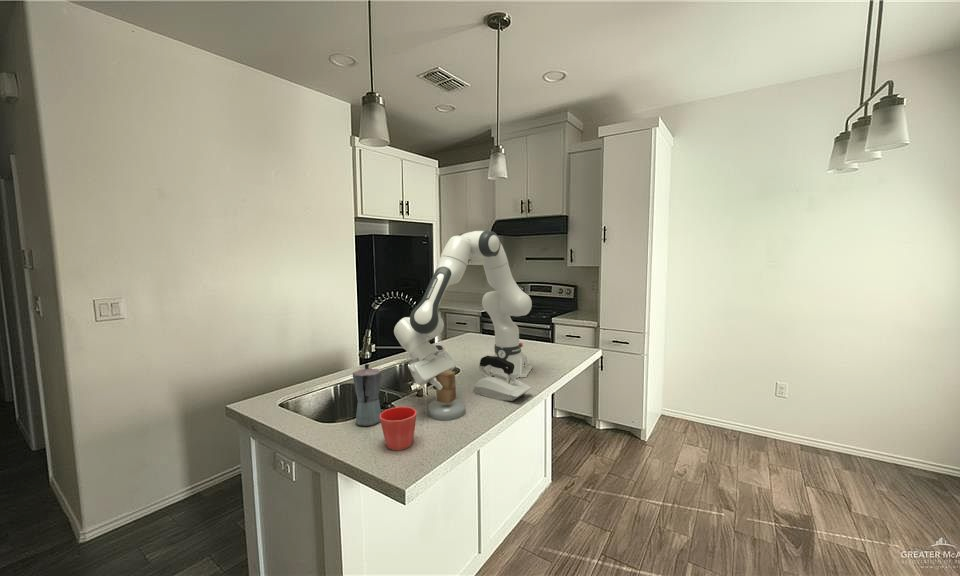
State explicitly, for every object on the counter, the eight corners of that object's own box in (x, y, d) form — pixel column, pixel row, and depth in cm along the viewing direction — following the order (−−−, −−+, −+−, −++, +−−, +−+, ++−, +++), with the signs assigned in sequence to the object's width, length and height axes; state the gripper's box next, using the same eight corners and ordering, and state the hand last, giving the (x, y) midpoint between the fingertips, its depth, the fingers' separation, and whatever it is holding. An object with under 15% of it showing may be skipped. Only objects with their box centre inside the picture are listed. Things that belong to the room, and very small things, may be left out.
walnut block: (444, 396, 140) (443, 370, 139) (456, 398, 138) (455, 371, 137) (436, 401, 136) (435, 373, 135) (448, 403, 133) (447, 375, 132)
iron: (518, 405, 142) (517, 366, 140) (467, 393, 156) (466, 357, 155) (532, 396, 150) (531, 359, 149) (483, 385, 165) (482, 351, 163)
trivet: (442, 403, 146) (442, 395, 146) (471, 409, 139) (471, 401, 139) (421, 416, 135) (421, 408, 135) (451, 423, 128) (451, 415, 128)
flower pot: (394, 433, 123) (393, 404, 122) (424, 438, 118) (423, 408, 118) (373, 449, 113) (372, 417, 112) (405, 456, 109) (403, 423, 108)
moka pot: (384, 411, 140) (381, 358, 138) (383, 429, 125) (380, 370, 124) (356, 414, 138) (353, 360, 136) (353, 433, 123) (349, 373, 121)
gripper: (410, 357, 130) (434, 390, 126) (445, 344, 147) (467, 372, 143) (401, 368, 132) (424, 400, 128) (436, 354, 150) (457, 382, 146)
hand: (447, 385), depth 136 cm, fingers closed on walnut block, 5 cm apart
